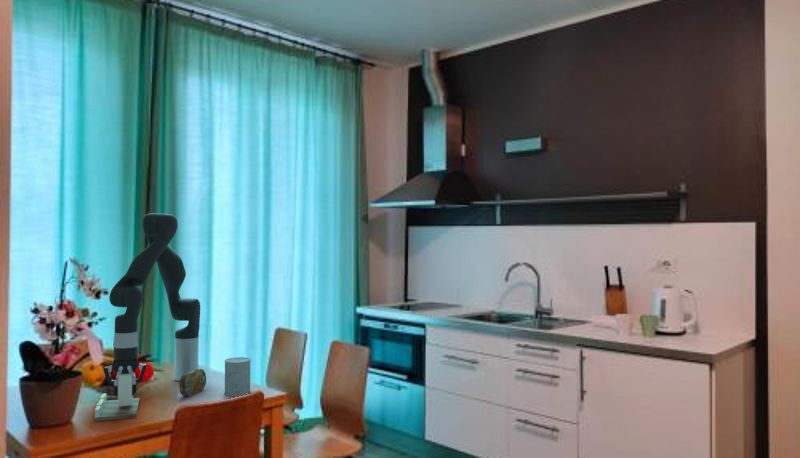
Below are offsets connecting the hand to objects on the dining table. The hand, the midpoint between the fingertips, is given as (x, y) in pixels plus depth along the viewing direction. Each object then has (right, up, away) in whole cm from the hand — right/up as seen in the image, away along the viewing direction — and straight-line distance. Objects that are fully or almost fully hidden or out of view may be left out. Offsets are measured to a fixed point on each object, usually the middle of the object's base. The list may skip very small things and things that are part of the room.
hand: (125, 395), depth 202 cm
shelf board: (-2, -5, -1) cm, 5 cm away
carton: (0, -2, 0) cm, 2 cm away
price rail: (-7, -4, -3) cm, 8 cm away
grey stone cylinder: (+32, -6, +23) cm, 40 cm away
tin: (+15, -6, +22) cm, 27 cm away
